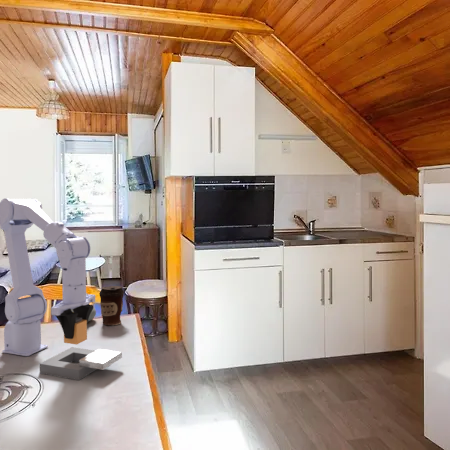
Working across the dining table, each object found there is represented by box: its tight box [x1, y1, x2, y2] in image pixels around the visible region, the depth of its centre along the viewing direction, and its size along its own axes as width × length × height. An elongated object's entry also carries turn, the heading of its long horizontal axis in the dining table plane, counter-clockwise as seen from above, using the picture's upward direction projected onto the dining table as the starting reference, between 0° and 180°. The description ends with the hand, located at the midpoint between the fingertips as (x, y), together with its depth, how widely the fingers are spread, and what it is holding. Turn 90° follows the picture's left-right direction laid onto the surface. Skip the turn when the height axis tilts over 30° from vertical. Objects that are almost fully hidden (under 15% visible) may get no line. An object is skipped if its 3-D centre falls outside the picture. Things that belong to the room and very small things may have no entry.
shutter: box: [78, 348, 123, 371], centre depth 102 cm, size 7×8×2 cm
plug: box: [63, 317, 88, 345], centre depth 104 cm, size 4×4×6 cm
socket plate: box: [39, 346, 97, 381], centre depth 105 cm, size 12×12×2 cm
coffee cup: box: [99, 285, 125, 326], centre depth 142 cm, size 9×8×13 cm
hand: (75, 335), depth 105 cm, fingers closed on plug, 4 cm apart
